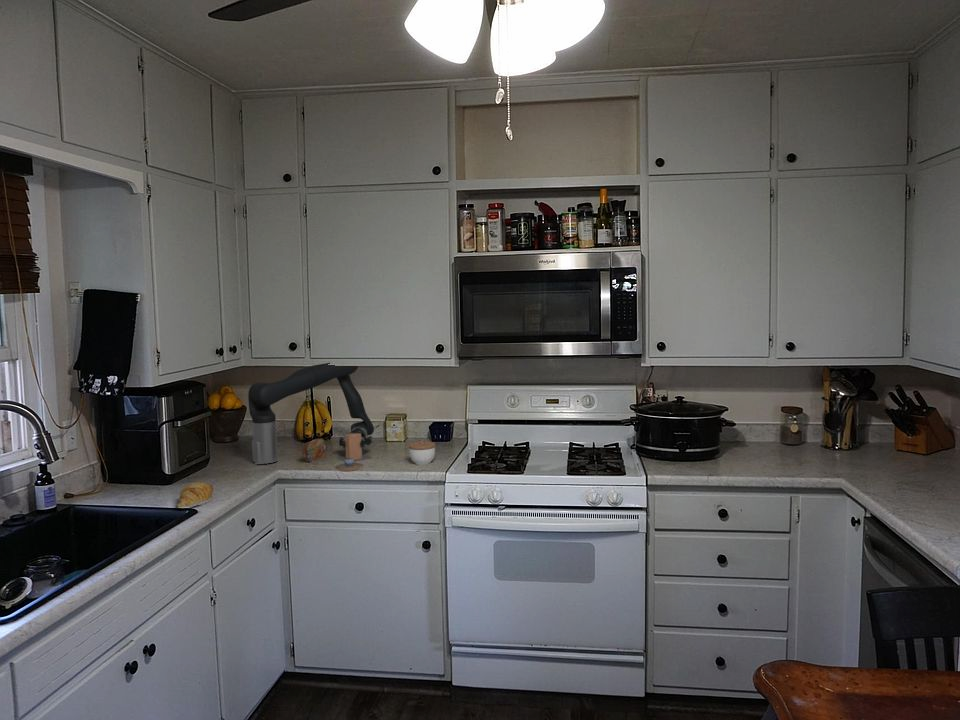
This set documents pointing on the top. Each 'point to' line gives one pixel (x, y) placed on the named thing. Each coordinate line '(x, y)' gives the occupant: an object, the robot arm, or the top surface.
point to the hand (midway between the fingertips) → (352, 444)
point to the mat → (355, 460)
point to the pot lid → (349, 465)
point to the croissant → (195, 494)
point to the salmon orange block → (353, 445)
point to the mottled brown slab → (314, 450)
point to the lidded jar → (422, 452)
